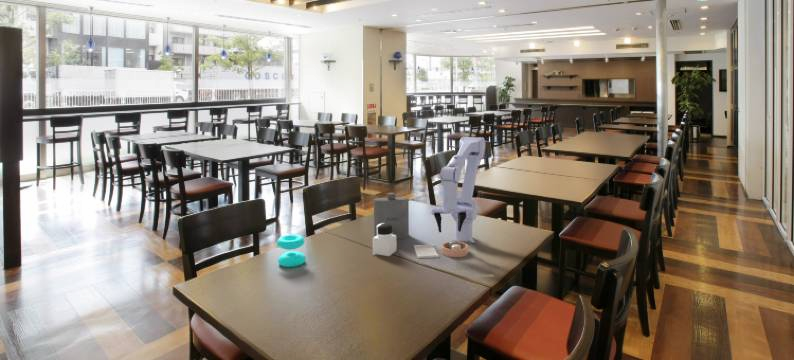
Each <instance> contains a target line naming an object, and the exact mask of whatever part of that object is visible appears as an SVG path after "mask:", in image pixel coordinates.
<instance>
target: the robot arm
mask: <svg viewBox="0 0 794 360" xmlns="http://www.w3.org/2000/svg"><path fill="white" fill-rule="evenodd" d="M458 148H459V150H458V152H457V154H455V155H453V156H452V157H451V159H450V160H449V162H448V163H447V165H446V166H443V167H442V168H441V169H440V173H439V174H440V175H439V178H440V183H441V186H442V205H441V206H440V207H434V208H433V207H432V208H430V214H431V215H433V216H434V218H435V221H436V224H437V229H438V233H442V218H443V216H442V214H443V215H444V214H445V215H446V214H447V215H448V214H449V215H450V216H451V217H452V218H453V221H454V223H453V224H454V226H453V231H454V232H453V235H454V239H455V241H458V242H463V243H465V242H466V243H467V242H470V243H471V244H475V243H476V242H475V240H474V239H473V238H474V237H473V221H475V220H476V218H477V217H478V203H477V201H476V200H474V199H473V195H474V191H475V190H474V189H475V184H476V179H477V174H478V169H479V163H480V161H481V160H482V159H484V155H485V151H486V139H485V138H484V137H483V136H482V137H476V136H475V137H474V136H473V137H471V136H462V137H461V138H460V139H459V142H458ZM465 165H466V166H465ZM464 167H465V171H464V172H465V173H464V177H463V182H462V187H461V192H460V195H459V197H458V185H459V184H458V183H459V181H460V179H461V175H462V171H463V168H464Z"/></svg>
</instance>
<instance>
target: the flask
mask: <svg viewBox="0 0 794 360" xmlns="http://www.w3.org/2000/svg"><path fill="white" fill-rule="evenodd" d="M386 196H387V197H377V198H374V199H373V229H374V230H373V231H374V232H373V233H374V235H373V238H374V237H375V236H377V225H378V224H381V223H388V224H391V225H392V235H396V240H397V239H405V238H408V237H409V235H410V233H409V232H410V227H409V226H410V225H409V224H410V223H409V221H410V219H409V217H410V215H409V212H410V211H409V209H410V208H409V198H408V197H406V196H398V197H397V196H396V193H395V192H388V193H387V195H386Z"/></svg>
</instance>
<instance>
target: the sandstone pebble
mask: <svg viewBox="0 0 794 360" xmlns="http://www.w3.org/2000/svg"><path fill="white" fill-rule="evenodd" d="M451 249H452V250H460V249H461V245H458V244H454V245H452V246H451Z"/></svg>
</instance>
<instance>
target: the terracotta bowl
mask: <svg viewBox="0 0 794 360" xmlns="http://www.w3.org/2000/svg"><path fill="white" fill-rule="evenodd" d="M458 242H459V243H458V245H461V249H460V250H452V249H449V241H445V242H443V243H442V244H441V245H440V246H441V248H440V251H441V253H442V255H444V256H446V257H451V258H462V257H465V256H467V255H468V253H469V245H468V244H467V243H465V242H463V241H458Z"/></svg>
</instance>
